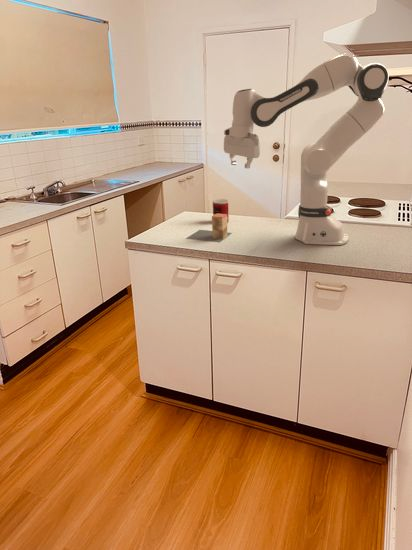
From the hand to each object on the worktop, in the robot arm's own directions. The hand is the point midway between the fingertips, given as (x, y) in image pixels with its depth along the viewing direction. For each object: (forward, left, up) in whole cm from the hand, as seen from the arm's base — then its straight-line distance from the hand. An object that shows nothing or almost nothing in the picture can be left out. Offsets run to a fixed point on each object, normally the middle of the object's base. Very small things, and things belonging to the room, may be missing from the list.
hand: (240, 166), depth 174 cm
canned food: (+18, -17, -31) cm, 40 cm away
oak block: (+8, +6, -30) cm, 32 cm away
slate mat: (+14, +6, -31) cm, 34 cm away
